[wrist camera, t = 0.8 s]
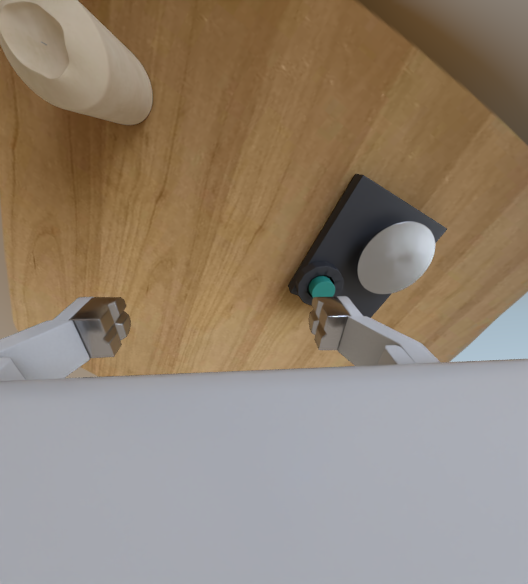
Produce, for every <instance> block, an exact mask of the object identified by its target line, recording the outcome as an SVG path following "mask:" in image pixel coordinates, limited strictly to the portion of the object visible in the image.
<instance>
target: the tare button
mask: <svg viewBox="0 0 528 584" xmlns="http://www.w3.org/2000/svg"><path fill="white" fill-rule="evenodd" d="M309 291H310V293H311V295H312V297H313V298H314V297H333V295H334V293H335V286H334V284H333V283H332V282H331V280H330V279H329V278H328V277H325V276H318V277H316V278H314V279H313V280H312V281H311V282H310V284H309Z"/></svg>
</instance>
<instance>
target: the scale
mask: <svg viewBox="0 0 528 584" xmlns="http://www.w3.org/2000/svg"><path fill="white" fill-rule="evenodd" d="M401 221H415V222H418V223H421V224H423V225H425V226H426V227H428V228H429V229H430V231H431V232H432V234H433V236H434V239H435V243H436V242H437V241H438V239H439V238H440V237H441V236H442V235H443V234H444V232H445V231H446V230H447V228H445V227H443V226H442V225H440V224H439V223H437V222H436V221H434V220H433V219H431V218H429V217H428V216H426V215H425V214H423V213H422V212H420V211H419V210H417V209H415V208H414V207H412V206H411V205H409V204H408V203H406V202H405V201H403V200H401V199H400V198H398V197H397V196H395V195H394V194H392V193H391V192H389V191H387V190H386V189H384V188H383V187H381V186H380V185H378V184H377V183H375V182H373V181H372V180H370V179H369V178H367V177H366V176H364V175H359V174H355V176H354V177H353V179H352V181H351V182H350V184H349V186H348V187H347V189H346V191H345V192H344V194H343V196H342V197H341V199H340V201H339V202H338V204H337V206H336V207H335V209H334V211H333V212H332V214H331V215H330V217H329V219H328V220H327V222H326V224H325V225H324V227H323V229H322V230H321V232H320V234H319V235H318V237H317V239H316V240H315V242H314V244H313V245H312V247H311V249H310V250H309V252H308V254H307V255H306V257H305V259H304V260H303V262H302V264H301V265H300V267H299V269H298V270H297V272H296V274H295V275H294V277H293V279H292V280H291V282H290V284H289V285H288V287H289V290H290V293H293V294H295V295H298V296H299V297H300V298H301V300H302V301H303V302H304V303H306V304H309V305H311V306H312V300H313V297H312V295H311V293H310V291H309V284H310V282H311V281H312V280H313V279H314V278H316V277H318V276H325V277H328V278H329V279H330V280H331V282H332V283H333V284H334V286H335V293H334V295H333V297H335V296H347V297H348V298H349V299H350V300H351V302H352V303H353V304H354V305H355V307H356V308H357V309H358V310H359V311H360V313H361V314H362V315H363V316H367V317H369V318H371V317H372V316H373V314H374V313H375V312H376V311H377V310H378V309H379V307H380V306H381V305H382V304H383V303H384V302H385V301H386V299H387V298H388V297H389V296H390V295H391V294H392V293H390V294H376V293H373V292H370V291H368V290H367V289H365V288H364V287H363V286H362V285H361V283H360V282H359V280H358V277H357V272H356V267H357V261H358V257H359V255H360V253H361V251H362V249H363V247H364V246H365V244H366V243H367V242H368V241H369V239H370V238H371V237H372V236H373V235H375V234H376V233H377V232H378V231H380V230H381V229H383V228H385V227H386V226H388V225H391V224H393V223H397V222H401Z"/></svg>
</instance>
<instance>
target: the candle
mask: <svg viewBox="0 0 528 584" xmlns="http://www.w3.org/2000/svg"><path fill="white" fill-rule="evenodd" d="M0 45H1V47H2V49H3V51H4V53H5V55H6V58H7V59H8V61H9V63H10V64H11V66H12V67H13V69H14V70H15V72H16V73H17V74H18V76H19V77H20V78H21V79H22V80H23V82H24V83H25V84H26V85H27V86H28V87H29V88H30V89H31V90H32V91H34V92H35V93H36V94H37V95H38V96H40V97H41V98H42V99H44V100H45V101H47V102H49V103H50V104H52V105H55V106H57V107H59V108H62V109H65V110H69V111H73V112H77V113H80V114H84V115H88V116H92V117H95V118H99V119H103V120H107V121H111V122H114V123H118V124H123V125H134V124H138V123H140V122H142V121H143V120H144V119H145V118H146V117H147V116H148V114H149V112H150V110H151V107H152V100H153V95H152V87H151V83H150V80H149V78H148V75H147V73H146V71H145V69H144V68H143V66H142V64H141V63H140V62H139V60H138V59H137V58H136V57H135V56H134V55H133V54H132V52H131V51H130V50H128V49H127V48H126V47H125V46H124V45H123V44H122V43H121V42H120V41H119V40H118V39H117V38H116V37H115V36H114V35H113V34H112V33H111V32H110V31H109V30H108V29H107V28H106V27H105V26H104V25H103V24H102V23H101V22H100V21H98V20H97V19H96V18H95V17H94V16H93V15H92V14H91V13H90V12H89V11H88V10H87V9H86V8H85V7H84V6H83V5H82V4H81V3H80V2H79V1H78V0H0Z"/></svg>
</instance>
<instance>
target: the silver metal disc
mask: <svg viewBox="0 0 528 584" xmlns="http://www.w3.org/2000/svg"><path fill="white" fill-rule="evenodd" d="M434 252H435V239H434V236H433V234H432V232H431V231H430V229H429V228H428V227H426V226H425V225H423V224H421V223H418V222H415V221H401V222H397V223H393V224H391V225H388V226H386V227H385V228H383V229H381V230H380V231H378V232H377V233H376V234H375V235H373V236H372V237H371V238H370V239H369V241H368V242H367V243H366V244H365V246H364V247H363V249H362V251H361V253H360V255H359V257H358V261H357V267H356V272H357V277H358V280H359V282H360V283H361V285H362V286H363V287H364V288H365V289H367V290H368V291H370V292H373V293H376V294H390V293H394V292H398V291H400V290H403V289H405V288H406V287H408V286H410V285H411V284H413V283H414V282H415V281H416V280H418V279H419V278H420V277H421V276H422V275H423V273H424V272H425V271H426V270H427V268H428V267H429V265H430V263H431V261H432V259H433V256H434Z"/></svg>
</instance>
